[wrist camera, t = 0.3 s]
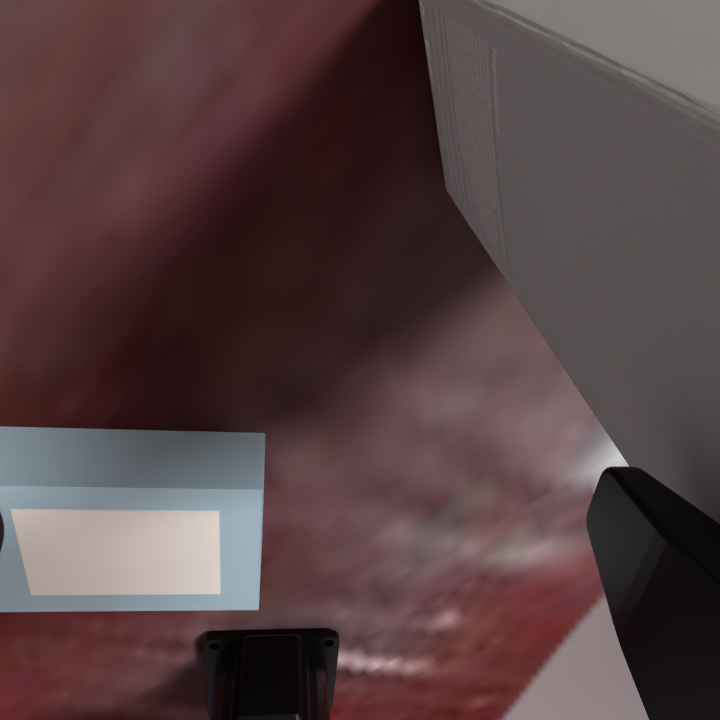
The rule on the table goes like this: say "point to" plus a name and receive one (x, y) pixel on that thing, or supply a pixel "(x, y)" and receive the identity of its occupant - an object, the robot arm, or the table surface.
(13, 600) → the light blue rectangular block
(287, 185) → the table surface
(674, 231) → the skincare box
